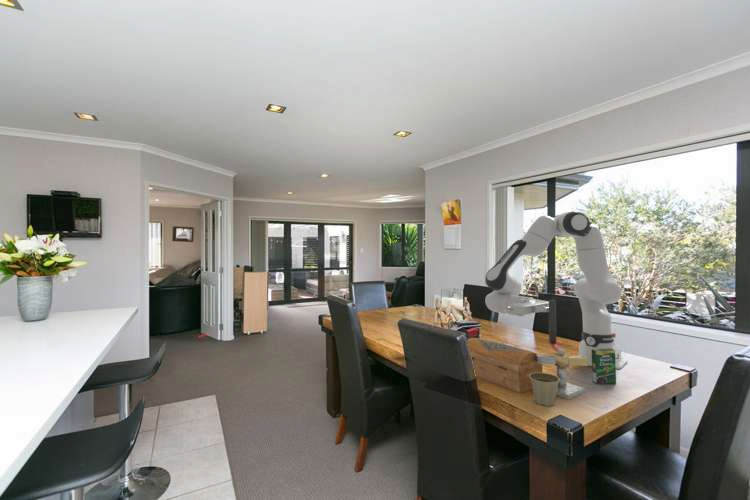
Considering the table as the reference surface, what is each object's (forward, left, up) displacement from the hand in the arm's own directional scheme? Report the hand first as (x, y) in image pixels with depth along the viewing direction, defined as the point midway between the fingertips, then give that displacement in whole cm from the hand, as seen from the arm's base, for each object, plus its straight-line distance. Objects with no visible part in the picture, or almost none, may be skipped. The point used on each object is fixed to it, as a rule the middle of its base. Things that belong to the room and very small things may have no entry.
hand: (548, 309), depth 142 cm
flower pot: (+23, +12, -28) cm, 38 cm away
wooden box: (+15, -12, -28) cm, 35 cm away
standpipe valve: (+8, +9, -28) cm, 30 cm away
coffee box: (-13, +14, -28) cm, 34 cm away
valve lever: (+4, +5, -15) cm, 16 cm away
